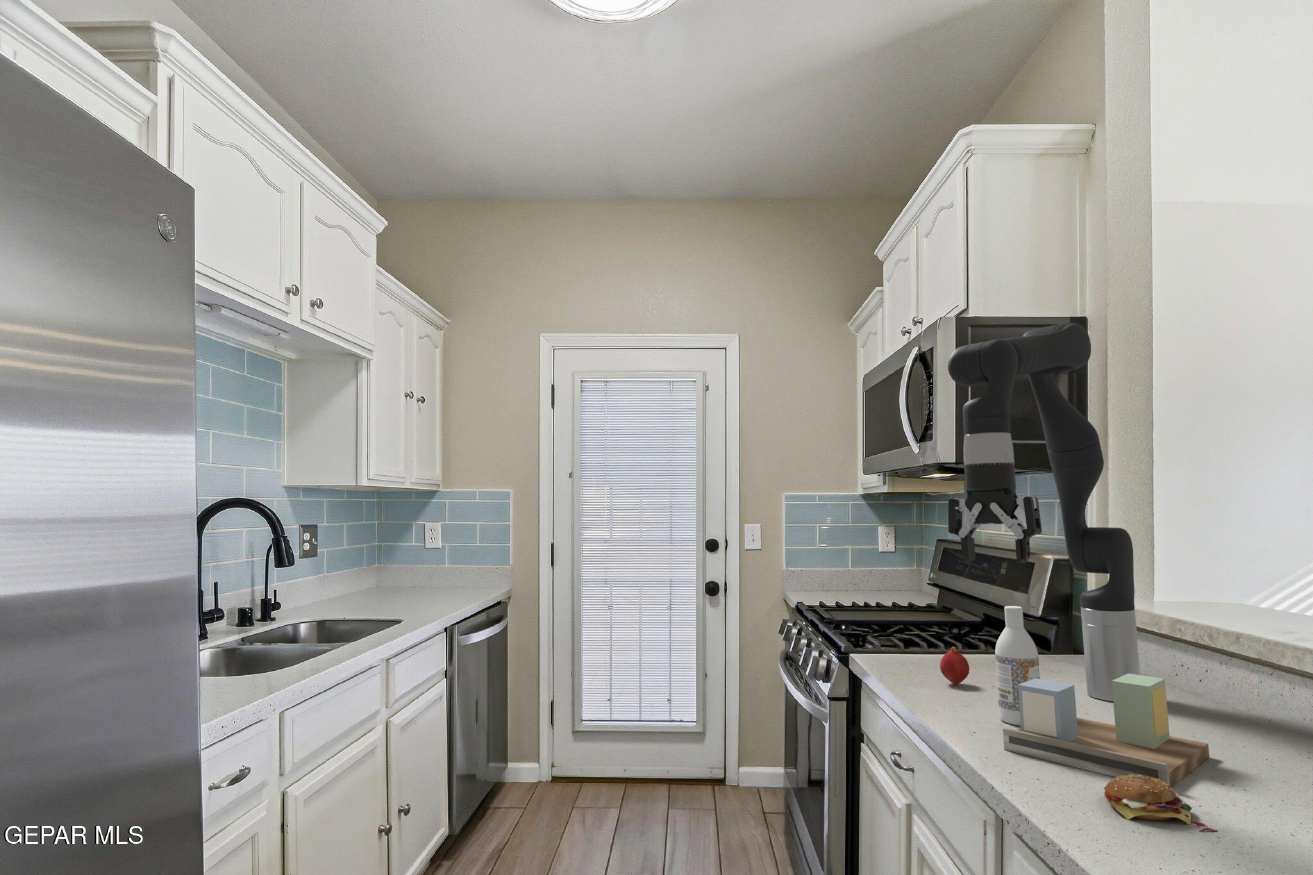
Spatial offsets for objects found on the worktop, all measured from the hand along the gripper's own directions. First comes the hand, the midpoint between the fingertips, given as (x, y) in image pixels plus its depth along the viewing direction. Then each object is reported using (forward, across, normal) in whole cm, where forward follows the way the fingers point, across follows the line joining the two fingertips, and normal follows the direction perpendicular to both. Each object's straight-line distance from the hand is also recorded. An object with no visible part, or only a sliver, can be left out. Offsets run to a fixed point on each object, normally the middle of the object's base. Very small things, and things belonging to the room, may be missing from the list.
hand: (995, 561), depth 117 cm
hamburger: (+30, -24, +10) cm, 40 cm away
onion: (+30, +26, -32) cm, 51 cm away
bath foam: (+30, +5, -16) cm, 34 cm away
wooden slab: (+29, -11, -9) cm, 33 cm away
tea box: (+27, -15, -13) cm, 34 cm away
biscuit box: (+27, -5, -4) cm, 28 cm away
